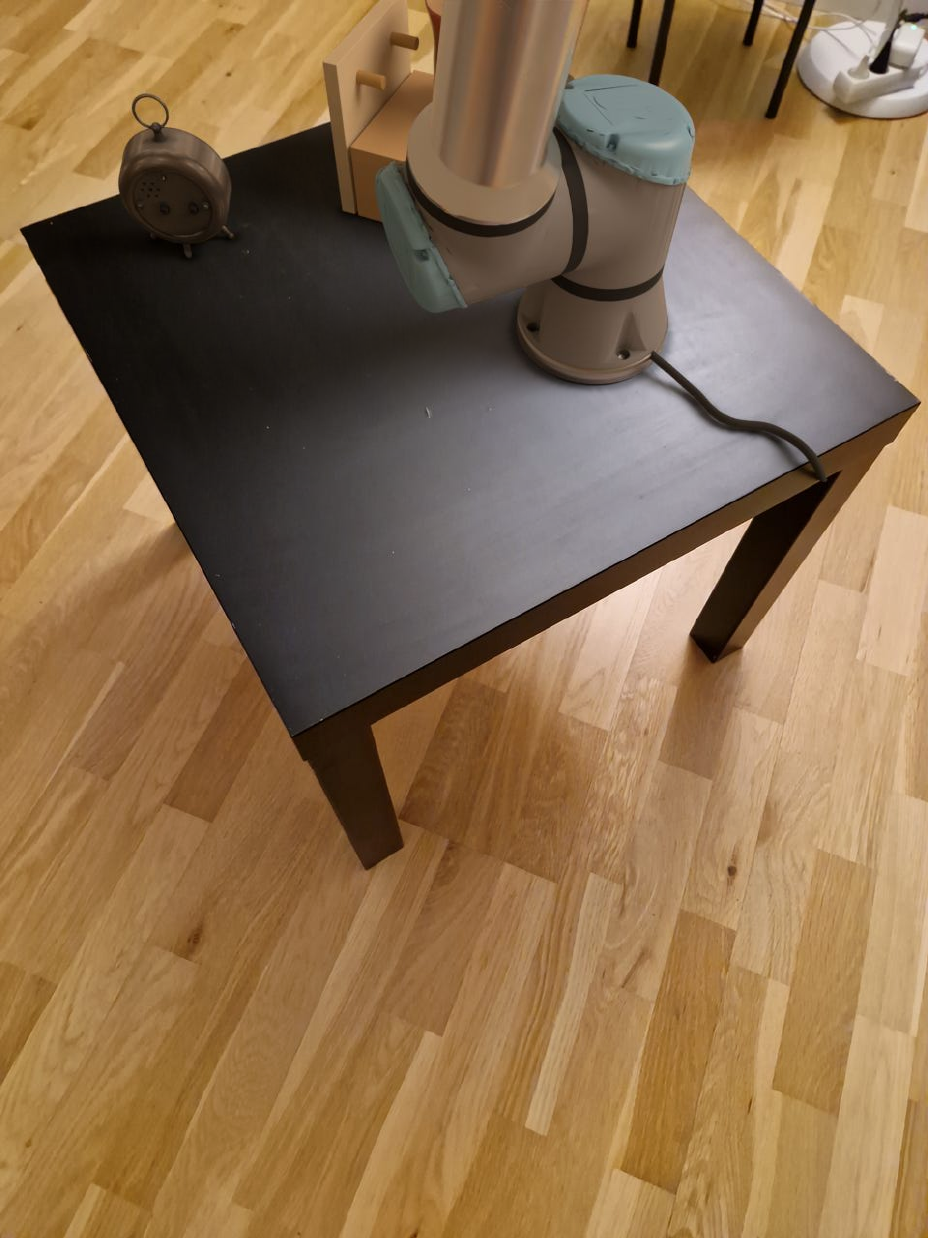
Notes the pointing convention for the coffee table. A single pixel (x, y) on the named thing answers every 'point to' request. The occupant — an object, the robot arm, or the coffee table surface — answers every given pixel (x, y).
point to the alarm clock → (174, 183)
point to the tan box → (373, 101)
